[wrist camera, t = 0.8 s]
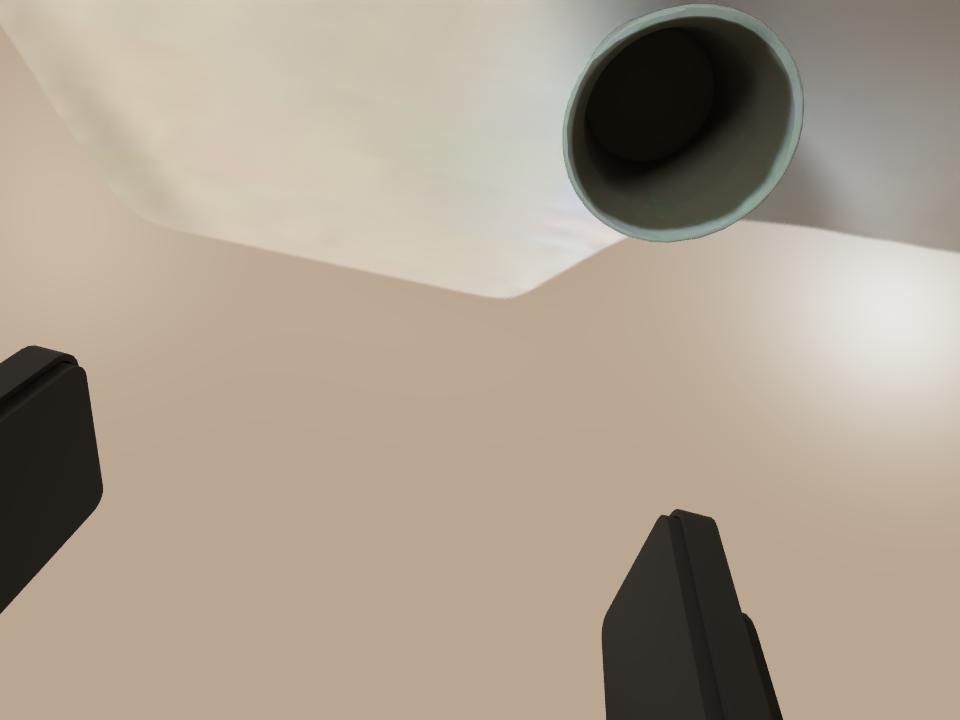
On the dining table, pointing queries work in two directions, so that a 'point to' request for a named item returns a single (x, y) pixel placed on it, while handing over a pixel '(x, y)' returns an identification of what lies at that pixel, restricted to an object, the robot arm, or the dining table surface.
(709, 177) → the green cup
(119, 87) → the dining table surface
